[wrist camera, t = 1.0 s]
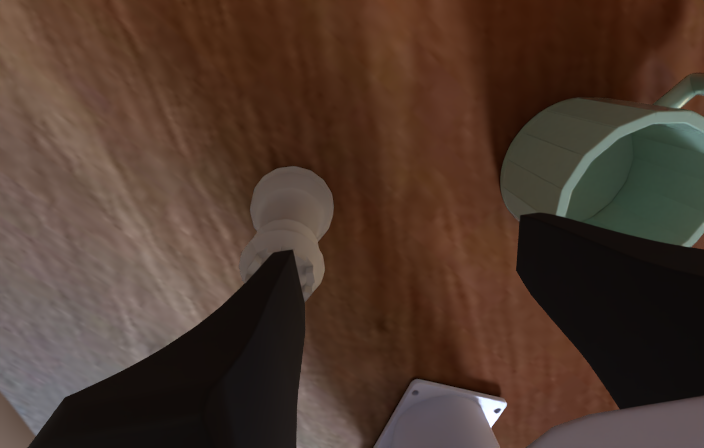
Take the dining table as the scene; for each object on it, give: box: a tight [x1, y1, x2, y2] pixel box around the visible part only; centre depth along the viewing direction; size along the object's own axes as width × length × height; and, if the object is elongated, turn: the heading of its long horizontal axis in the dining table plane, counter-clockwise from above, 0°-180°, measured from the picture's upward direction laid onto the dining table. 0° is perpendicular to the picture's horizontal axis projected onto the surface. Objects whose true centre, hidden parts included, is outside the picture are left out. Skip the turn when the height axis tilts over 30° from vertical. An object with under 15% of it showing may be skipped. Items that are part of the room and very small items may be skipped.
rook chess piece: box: [239, 166, 334, 302], centre depth 17 cm, size 4×4×8 cm
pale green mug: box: [500, 73, 704, 247], centre depth 18 cm, size 11×8×6 cm
